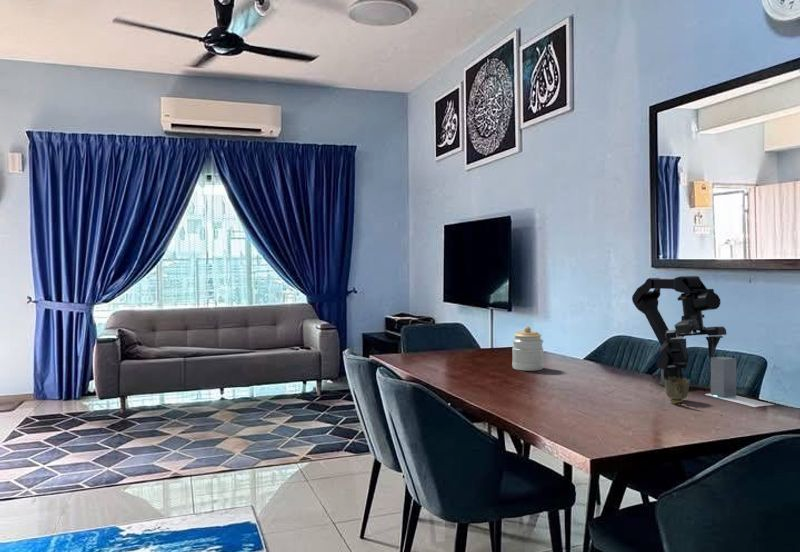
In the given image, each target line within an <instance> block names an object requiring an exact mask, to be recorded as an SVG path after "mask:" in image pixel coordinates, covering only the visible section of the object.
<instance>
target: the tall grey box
mask: <svg viewBox="0 0 800 552" xmlns="http://www.w3.org/2000/svg"><path fill="white" fill-rule="evenodd" d="M710 394H712V395H716V396H720V397H732V396H737V358H734V357H733V358H732V357H728V356H713V357H711V358H710Z"/></svg>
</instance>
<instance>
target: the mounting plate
mask: <svg viewBox="0 0 800 552" xmlns="http://www.w3.org/2000/svg"><path fill="white" fill-rule="evenodd" d="M704 395H705V396H708V397H709V396H710V397H713V398H718V399H721V400H725V401H730V402H732V403H733V402H734V403H738V404H741V405H744V406H748V407H752V408H753V407H754V408H757V407H767V406H775V404H774V403H768V402H765V401H761V400H757V399H753V398H748V397H744V396H739V395H736V397H735V398H720V397H715V396H712V395H711V393H705V394H704Z"/></svg>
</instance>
